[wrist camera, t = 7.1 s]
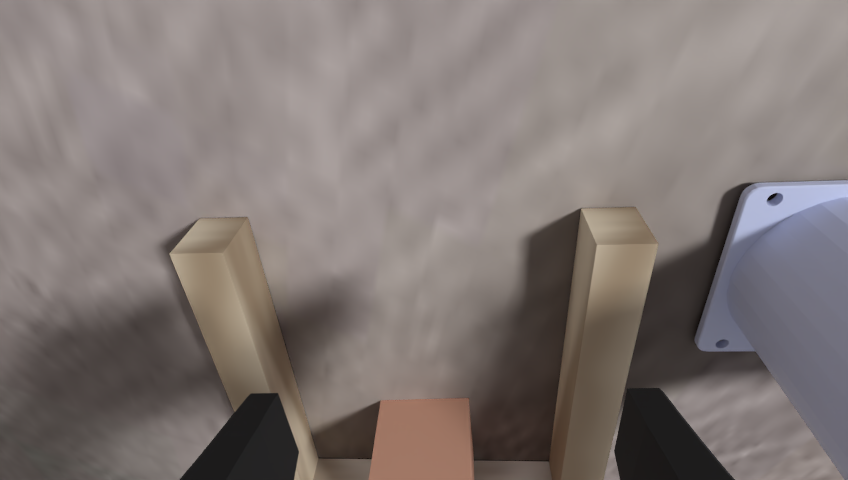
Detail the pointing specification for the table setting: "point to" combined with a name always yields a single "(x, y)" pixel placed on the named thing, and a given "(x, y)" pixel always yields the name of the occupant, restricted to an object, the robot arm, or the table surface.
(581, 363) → the wooden u-shaped frame
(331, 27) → the table surface
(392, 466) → the block
